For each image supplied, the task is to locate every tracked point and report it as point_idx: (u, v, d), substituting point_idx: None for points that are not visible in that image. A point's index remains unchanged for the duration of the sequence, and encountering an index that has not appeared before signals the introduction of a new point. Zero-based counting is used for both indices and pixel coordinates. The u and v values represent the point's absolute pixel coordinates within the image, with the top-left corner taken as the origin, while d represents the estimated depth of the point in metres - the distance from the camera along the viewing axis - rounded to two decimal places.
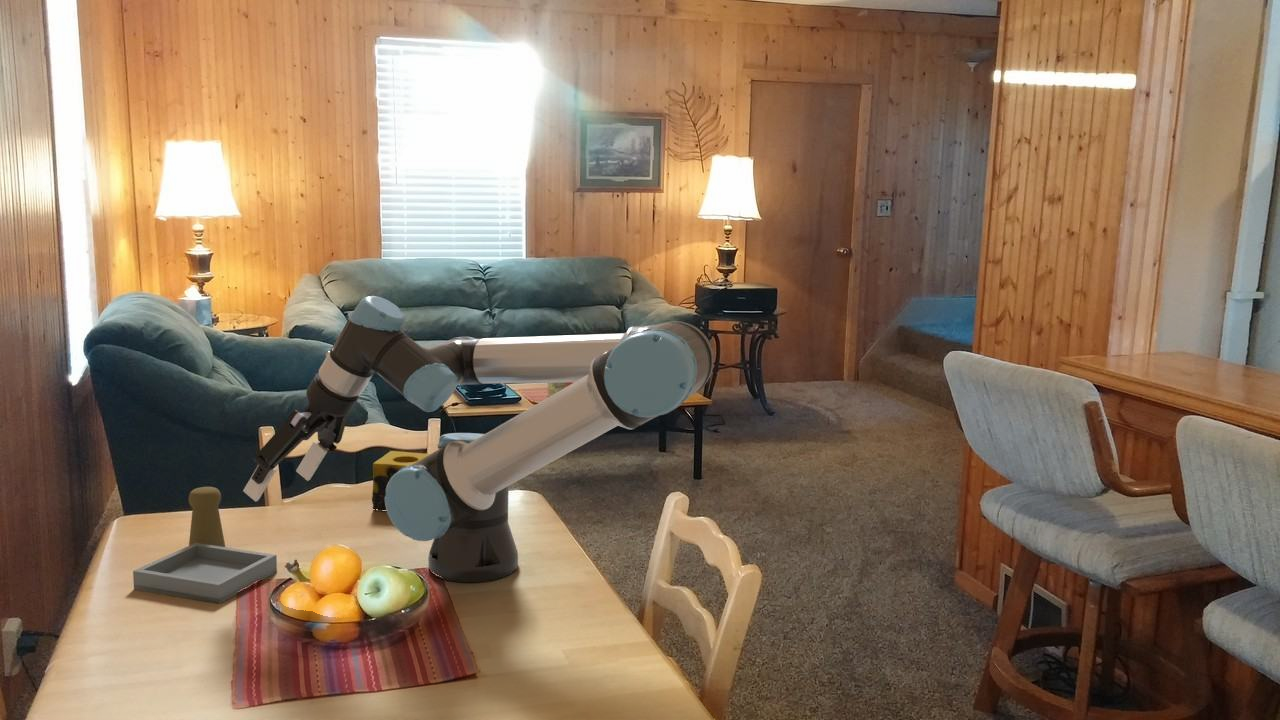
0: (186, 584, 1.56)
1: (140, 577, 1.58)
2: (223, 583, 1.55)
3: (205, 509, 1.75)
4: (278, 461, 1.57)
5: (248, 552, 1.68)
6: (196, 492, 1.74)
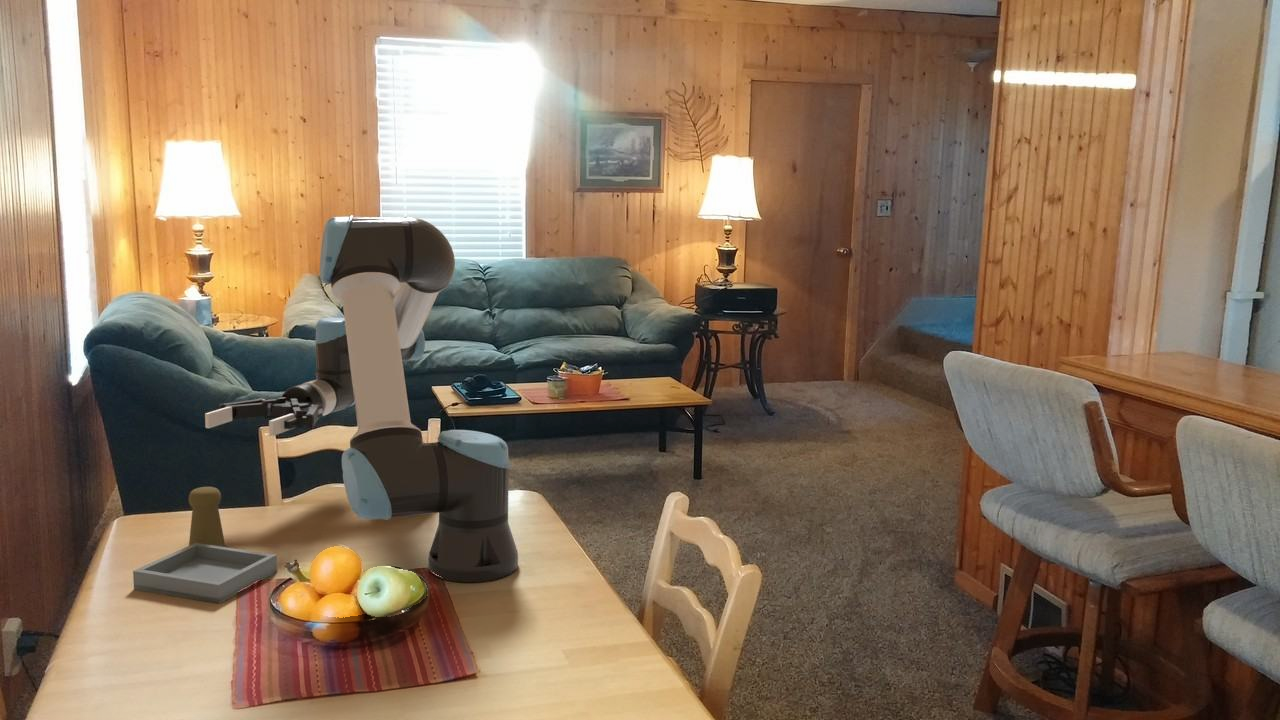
0: (186, 584, 1.56)
1: (140, 577, 1.58)
2: (223, 583, 1.55)
3: (205, 509, 1.75)
4: (234, 405, 1.93)
5: (248, 552, 1.68)
6: (196, 492, 1.74)
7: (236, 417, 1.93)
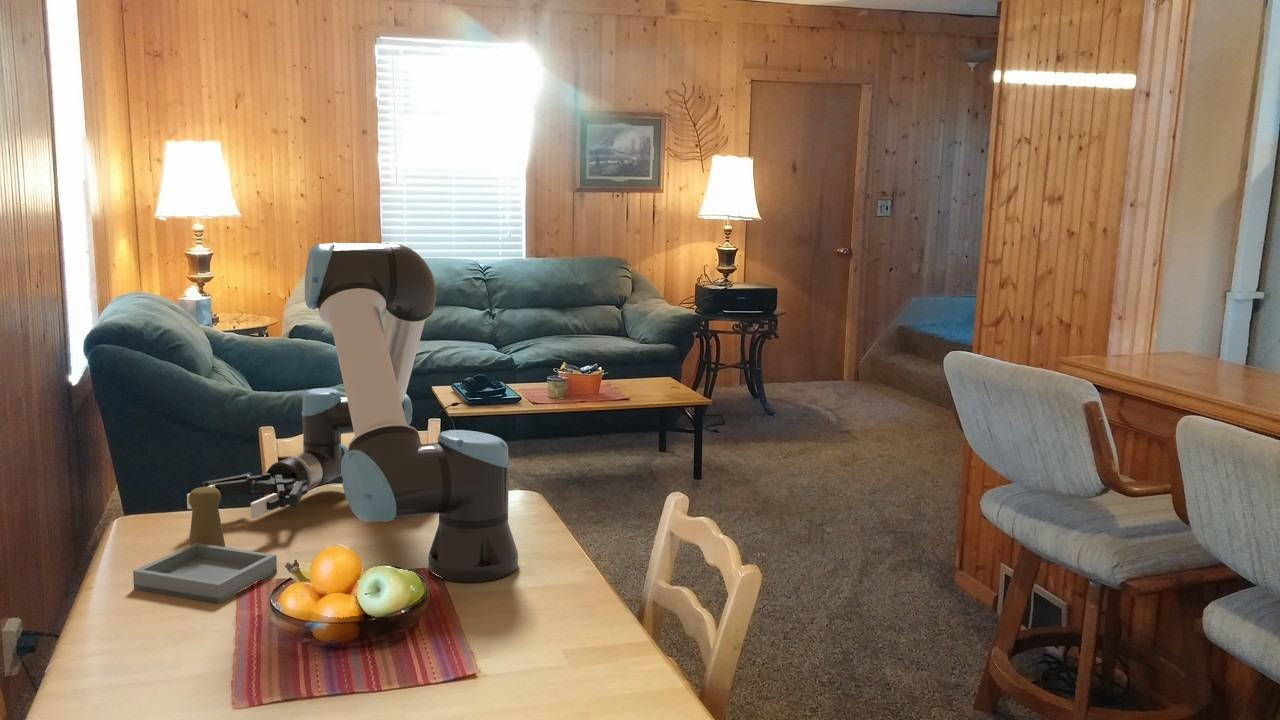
0: (186, 584, 1.56)
1: (140, 577, 1.58)
2: (223, 583, 1.55)
3: (205, 509, 1.75)
4: (218, 483, 1.91)
5: (248, 552, 1.68)
6: (196, 492, 1.74)
7: None
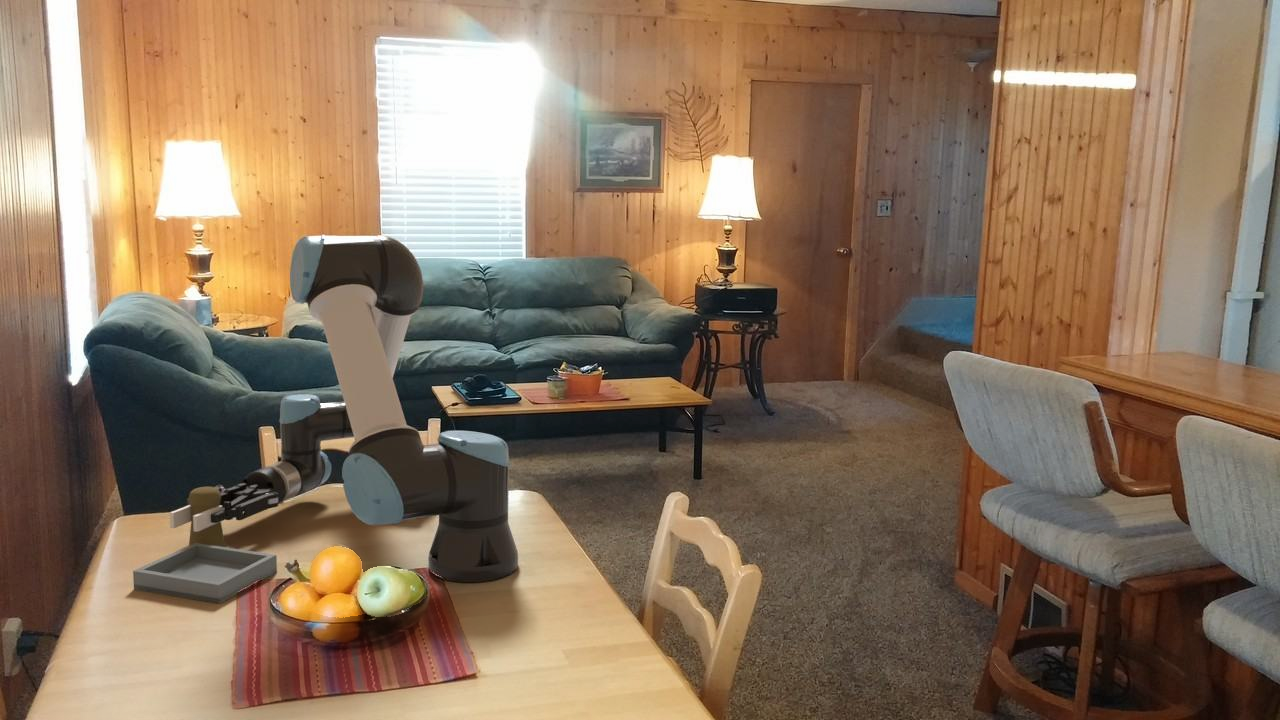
0: (186, 584, 1.56)
1: (140, 577, 1.58)
2: (223, 583, 1.55)
3: (205, 509, 1.75)
4: None
5: (248, 552, 1.68)
6: (196, 492, 1.74)
7: None
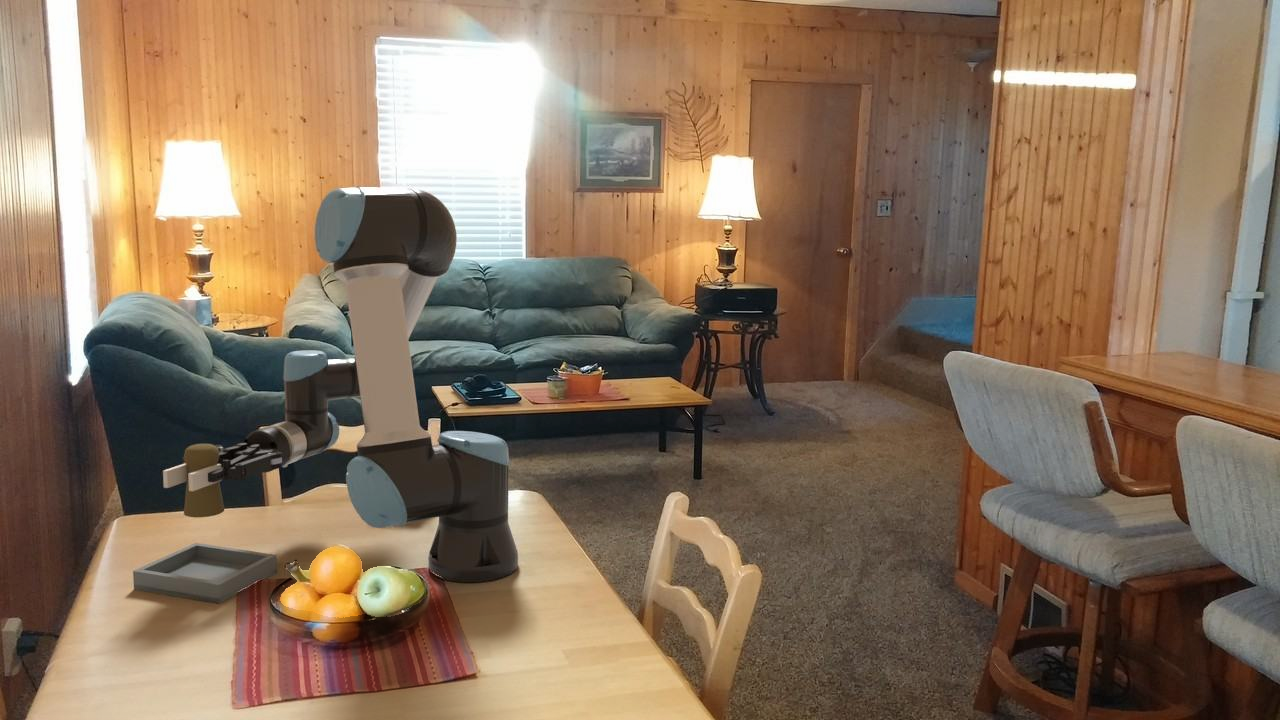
0: (186, 584, 1.56)
1: (140, 577, 1.58)
2: (223, 583, 1.55)
3: (202, 467, 1.60)
4: None
5: (248, 552, 1.68)
6: (192, 448, 1.59)
7: None
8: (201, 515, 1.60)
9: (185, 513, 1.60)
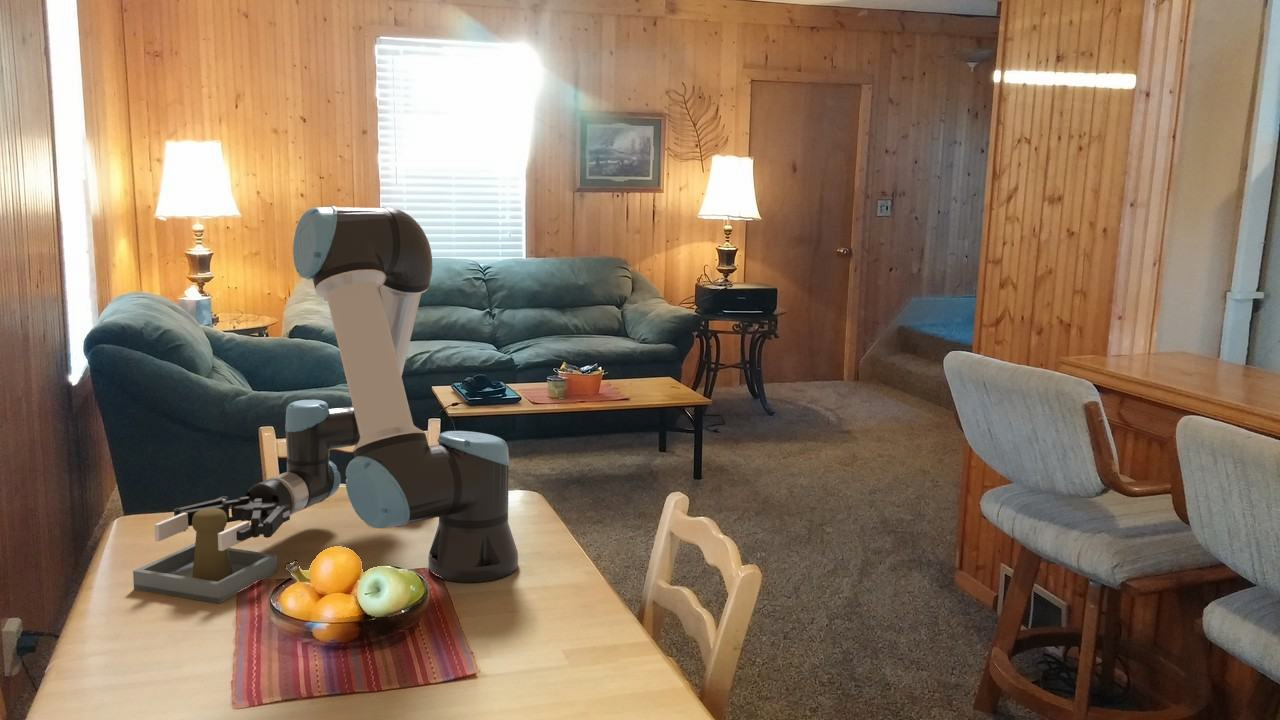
0: (186, 584, 1.56)
1: (140, 577, 1.58)
2: (223, 583, 1.55)
3: (210, 533, 1.60)
4: (191, 510, 1.68)
5: (248, 552, 1.68)
6: (200, 514, 1.60)
7: None
8: None
9: None
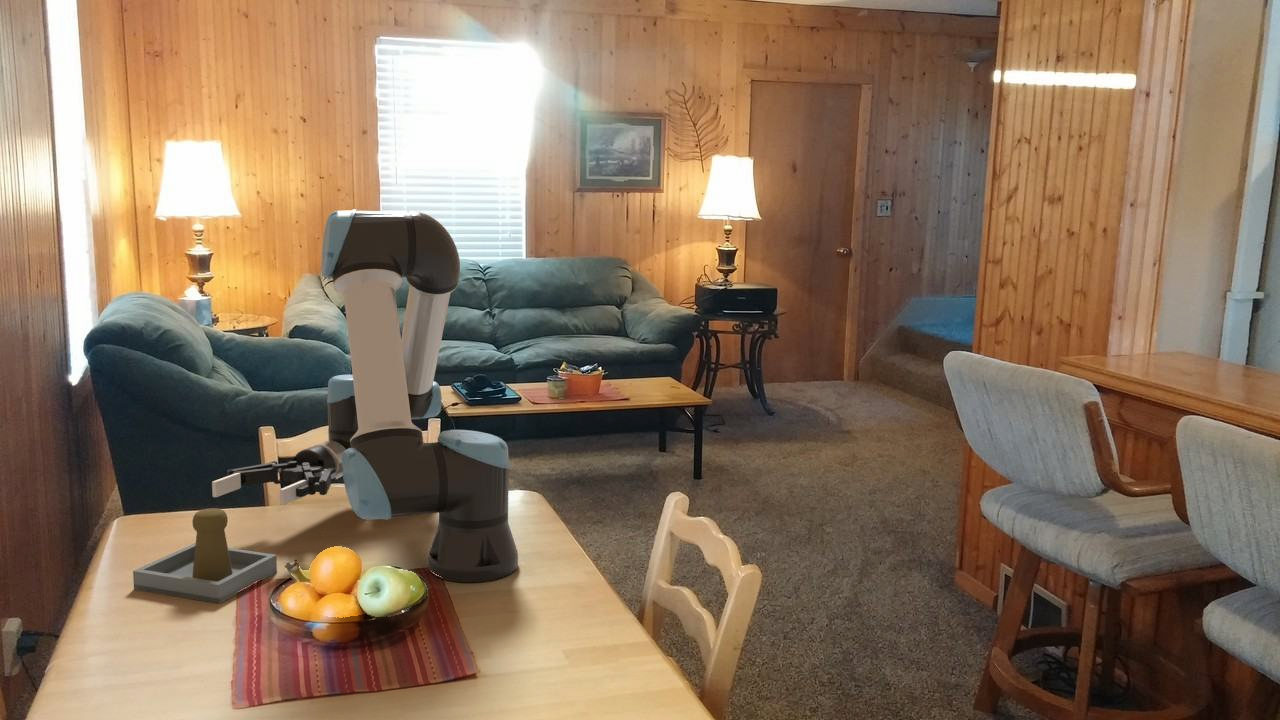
0: (186, 584, 1.56)
1: (140, 577, 1.58)
2: (223, 583, 1.55)
3: (210, 533, 1.60)
4: (243, 471, 1.82)
5: (248, 552, 1.68)
6: (201, 514, 1.60)
7: (245, 484, 1.82)
8: (210, 580, 1.61)
9: None
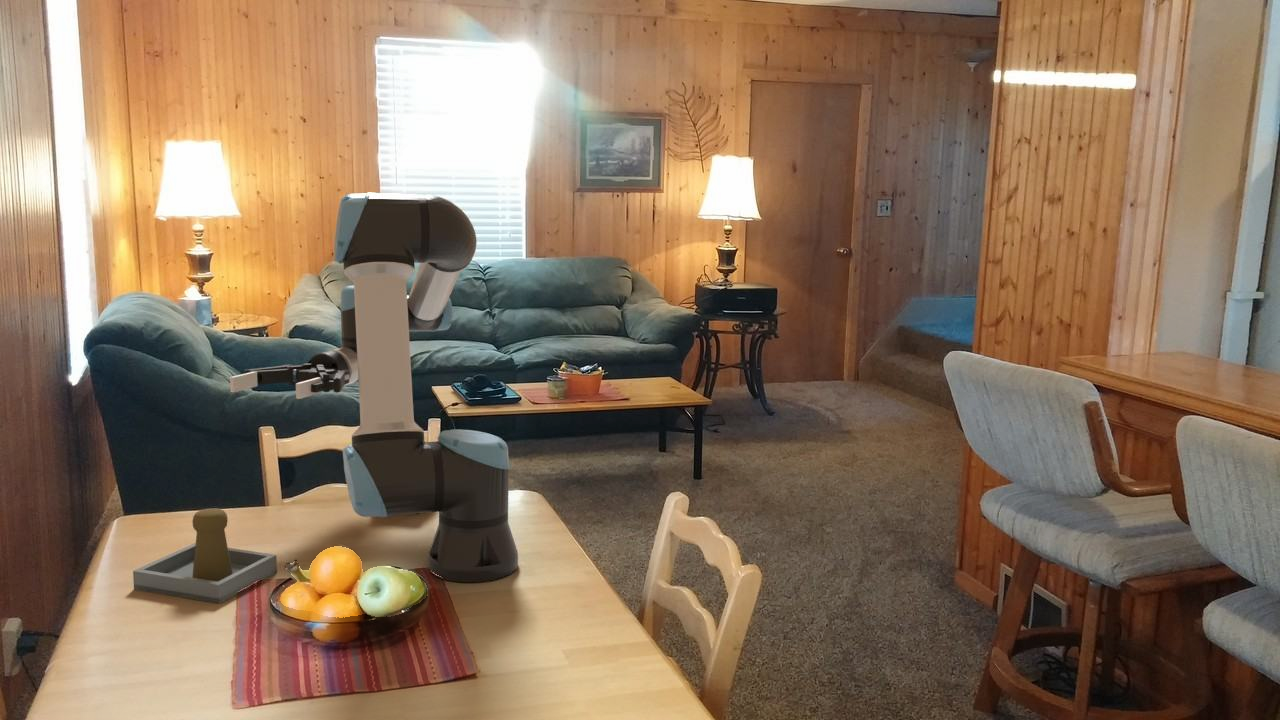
0: (186, 584, 1.56)
1: (140, 577, 1.58)
2: (223, 583, 1.55)
3: (210, 533, 1.60)
4: (259, 371, 1.88)
5: (248, 552, 1.68)
6: (201, 514, 1.60)
7: (261, 383, 1.88)
8: (210, 580, 1.61)
9: None
